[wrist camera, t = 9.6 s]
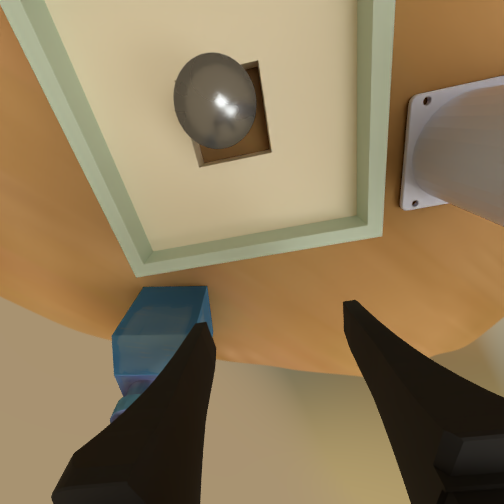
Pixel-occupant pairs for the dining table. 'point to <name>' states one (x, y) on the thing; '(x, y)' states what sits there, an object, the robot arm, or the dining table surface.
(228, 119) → the peg
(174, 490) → the robot arm
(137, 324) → the perfume bottle
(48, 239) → the dining table surface
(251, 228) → the box
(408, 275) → the dining table surface
